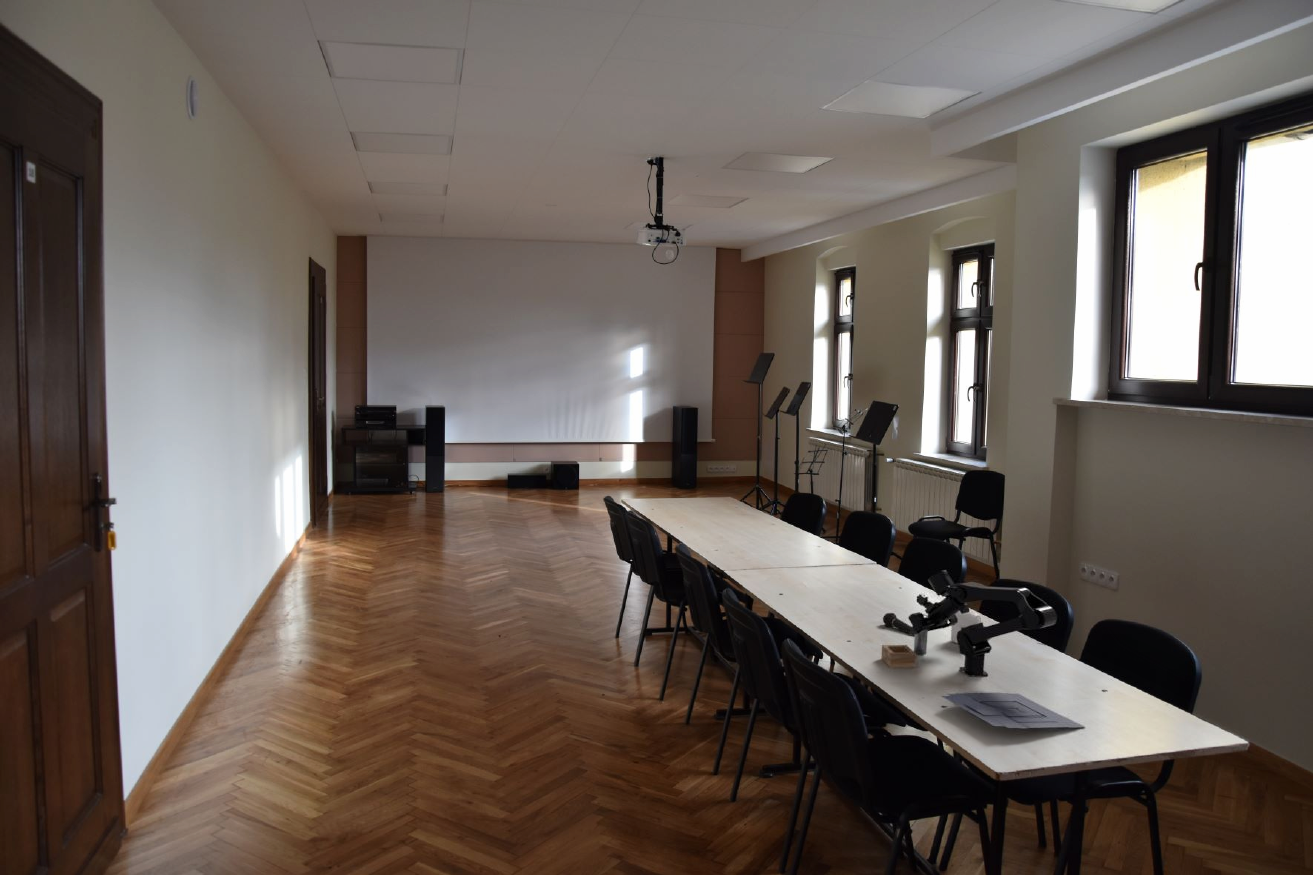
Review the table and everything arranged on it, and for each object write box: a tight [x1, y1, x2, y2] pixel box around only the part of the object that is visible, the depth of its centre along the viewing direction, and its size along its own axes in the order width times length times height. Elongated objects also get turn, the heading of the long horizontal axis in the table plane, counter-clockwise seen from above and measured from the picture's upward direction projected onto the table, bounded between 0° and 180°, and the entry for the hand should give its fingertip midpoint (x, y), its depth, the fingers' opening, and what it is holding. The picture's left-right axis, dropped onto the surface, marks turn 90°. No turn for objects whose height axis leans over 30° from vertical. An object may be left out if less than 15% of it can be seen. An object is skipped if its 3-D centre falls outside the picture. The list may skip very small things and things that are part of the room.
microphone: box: [882, 612, 915, 637], centre depth 308 cm, size 5×5×19 cm
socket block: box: [881, 644, 917, 669], centre depth 276 cm, size 8×8×4 cm
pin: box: [913, 613, 929, 656], centre depth 286 cm, size 4×4×12 cm
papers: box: [940, 692, 1086, 729], centre depth 236 cm, size 24×30×4 cm
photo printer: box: [950, 609, 982, 644], centre depth 295 cm, size 10×4×12 cm, turn 29°
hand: (917, 631), depth 287 cm, fingers open, 7 cm apart
